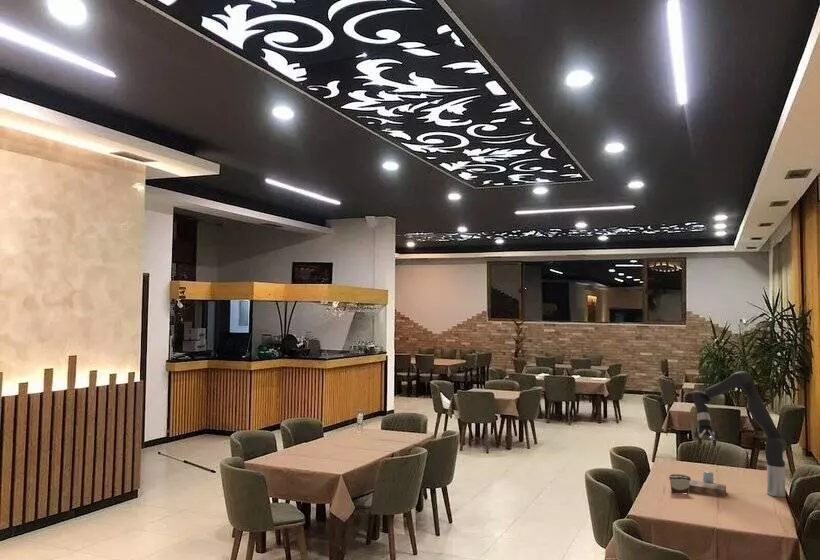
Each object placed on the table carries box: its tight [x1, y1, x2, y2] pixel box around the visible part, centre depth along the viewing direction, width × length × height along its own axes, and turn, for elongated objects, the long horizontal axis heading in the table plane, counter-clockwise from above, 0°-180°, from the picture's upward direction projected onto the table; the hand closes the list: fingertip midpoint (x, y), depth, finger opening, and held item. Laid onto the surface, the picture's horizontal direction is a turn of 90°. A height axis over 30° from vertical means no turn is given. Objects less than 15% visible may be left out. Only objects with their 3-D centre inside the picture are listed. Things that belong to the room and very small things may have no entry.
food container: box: [668, 473, 692, 495], centre depth 376 cm, size 12×6×10 cm, turn 84°
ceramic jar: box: [702, 470, 714, 483], centre depth 390 cm, size 6×6×9 cm
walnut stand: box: [689, 479, 727, 498], centre depth 380 cm, size 20×14×4 cm
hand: (707, 445), depth 400 cm, fingers open, 8 cm apart
